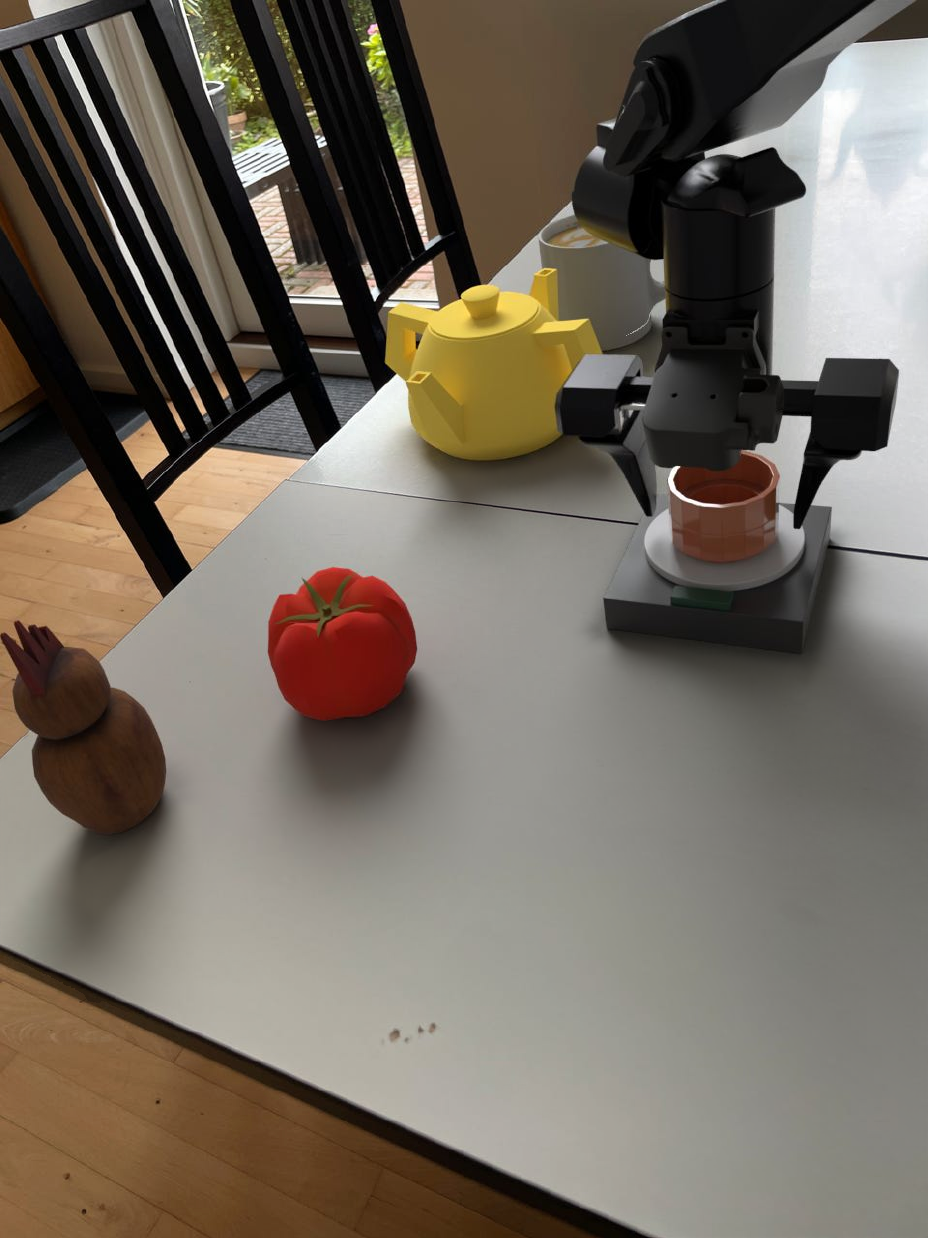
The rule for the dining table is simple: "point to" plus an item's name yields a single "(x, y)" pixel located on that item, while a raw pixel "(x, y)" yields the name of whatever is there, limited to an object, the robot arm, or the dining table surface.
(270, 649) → the tomato
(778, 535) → the scale
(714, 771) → the dining table surface
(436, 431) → the teapot
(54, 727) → the wooden figurine
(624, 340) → the coffee mug
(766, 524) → the bowl
